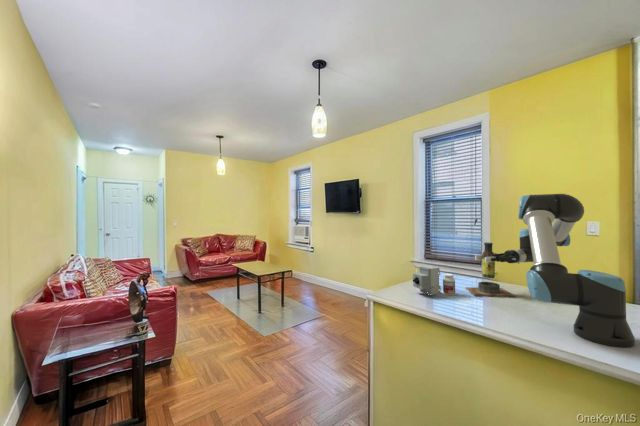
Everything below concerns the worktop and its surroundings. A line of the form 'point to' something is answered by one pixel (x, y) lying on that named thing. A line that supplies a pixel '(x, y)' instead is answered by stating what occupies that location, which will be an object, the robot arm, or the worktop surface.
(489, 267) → the sauce bottle
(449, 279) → the pill bottle
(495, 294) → the bottle holder
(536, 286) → the robot arm
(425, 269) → the circuit breaker
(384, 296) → the worktop surface
